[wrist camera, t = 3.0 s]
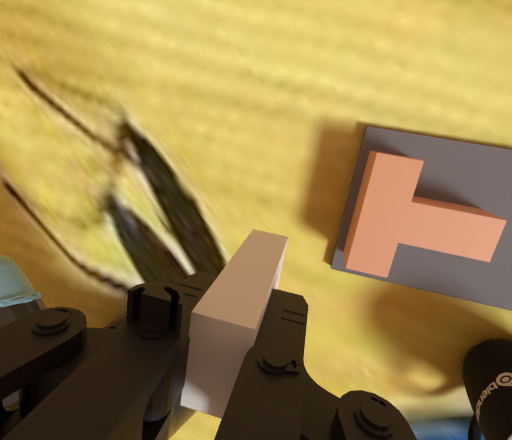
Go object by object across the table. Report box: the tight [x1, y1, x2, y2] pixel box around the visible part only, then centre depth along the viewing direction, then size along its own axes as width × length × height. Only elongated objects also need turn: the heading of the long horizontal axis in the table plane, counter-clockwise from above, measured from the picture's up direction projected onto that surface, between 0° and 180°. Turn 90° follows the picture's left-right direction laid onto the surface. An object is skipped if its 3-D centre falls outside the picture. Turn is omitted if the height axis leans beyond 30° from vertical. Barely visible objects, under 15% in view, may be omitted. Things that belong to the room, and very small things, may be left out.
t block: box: [343, 151, 507, 278], centre depth 27 cm, size 10×10×4 cm
